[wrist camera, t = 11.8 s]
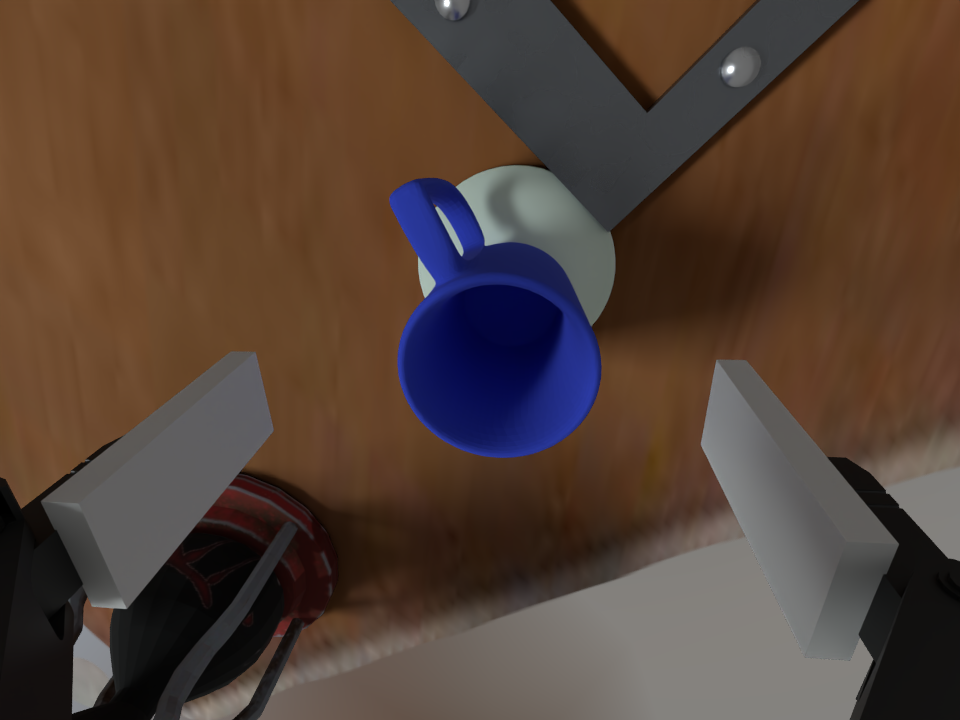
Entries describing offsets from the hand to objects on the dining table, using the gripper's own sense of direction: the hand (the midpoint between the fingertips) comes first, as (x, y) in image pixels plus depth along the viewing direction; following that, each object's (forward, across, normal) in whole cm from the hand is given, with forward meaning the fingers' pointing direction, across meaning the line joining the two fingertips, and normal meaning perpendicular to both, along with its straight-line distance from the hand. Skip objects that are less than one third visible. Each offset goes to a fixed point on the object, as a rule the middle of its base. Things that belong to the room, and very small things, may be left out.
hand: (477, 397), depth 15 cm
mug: (+16, -1, 0) cm, 16 cm away
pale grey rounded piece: (+16, 0, -1) cm, 16 cm away
